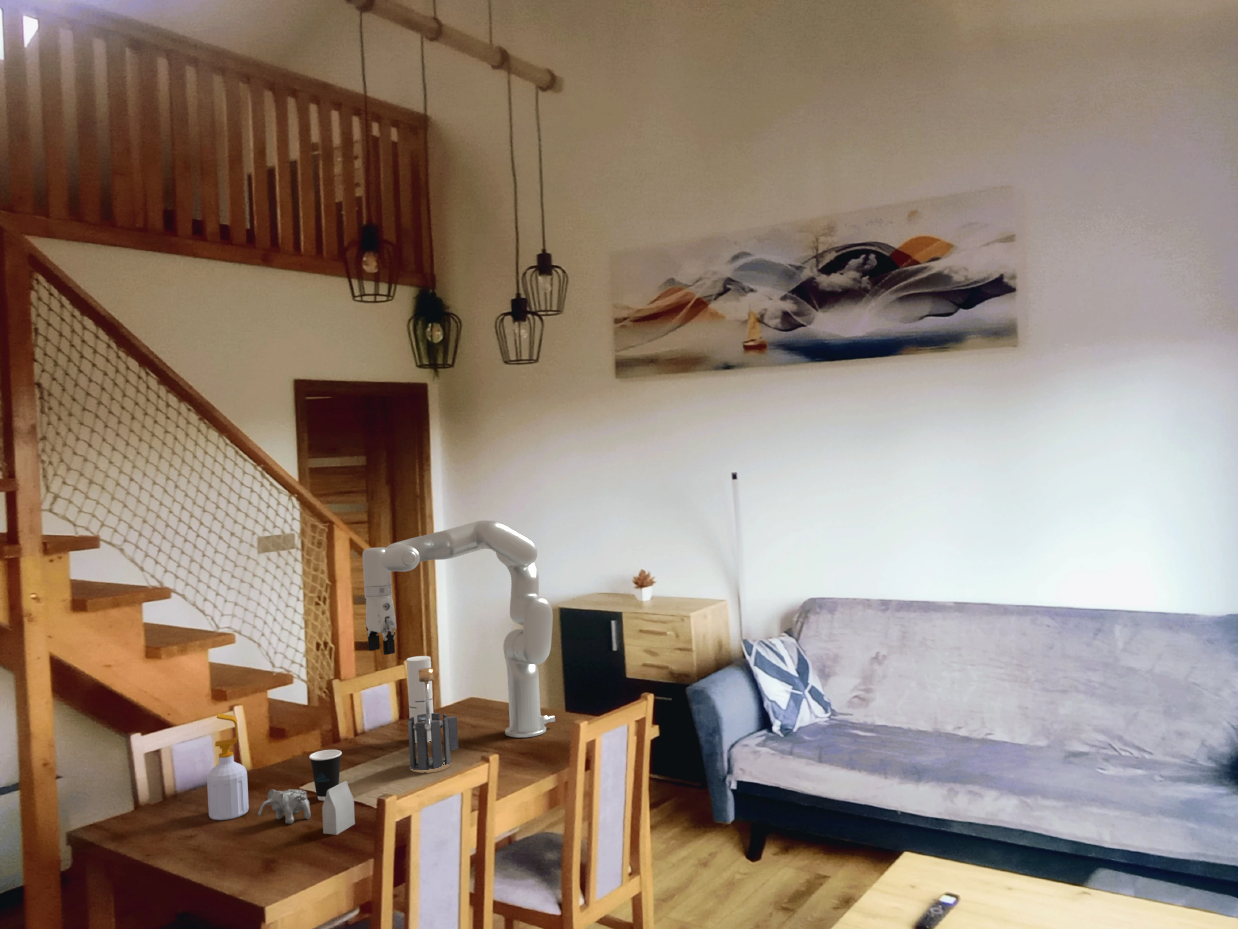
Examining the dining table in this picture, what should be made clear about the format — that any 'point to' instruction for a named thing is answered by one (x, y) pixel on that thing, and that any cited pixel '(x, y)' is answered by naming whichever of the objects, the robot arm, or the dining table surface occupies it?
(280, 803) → the gray elephant figurine
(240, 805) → the soap bottle
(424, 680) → the plunger
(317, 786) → the dixie cup
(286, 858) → the dining table surface
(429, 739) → the cylindrical container
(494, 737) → the dining table surface
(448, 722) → the frame
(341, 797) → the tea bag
